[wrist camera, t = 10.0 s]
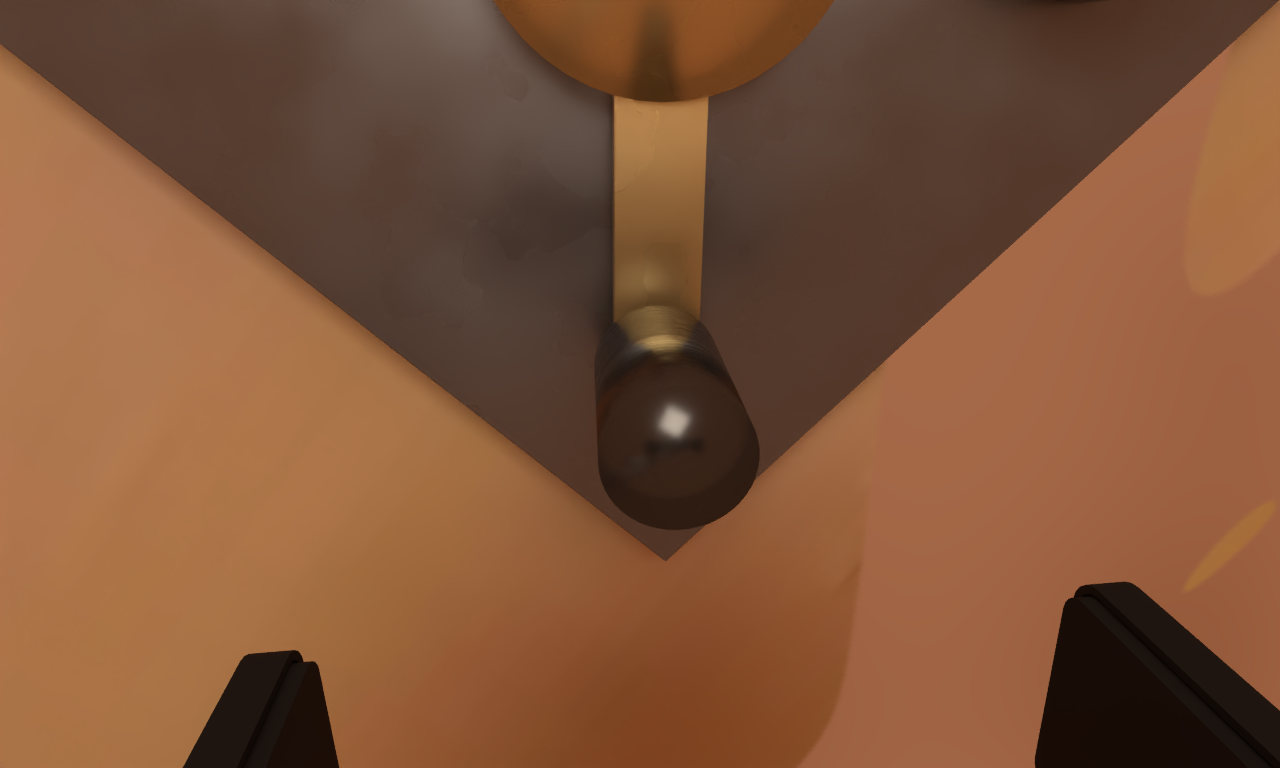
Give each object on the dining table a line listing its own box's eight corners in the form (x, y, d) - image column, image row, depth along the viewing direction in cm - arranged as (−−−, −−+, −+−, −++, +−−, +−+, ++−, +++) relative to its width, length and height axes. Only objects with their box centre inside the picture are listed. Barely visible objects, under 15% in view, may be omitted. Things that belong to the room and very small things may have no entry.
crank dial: (453, -347, 16) (370, -604, 9) (863, -330, 16) (1035, -563, 10) (498, 398, 21) (465, 535, 15) (797, 392, 22) (881, 524, 16)
